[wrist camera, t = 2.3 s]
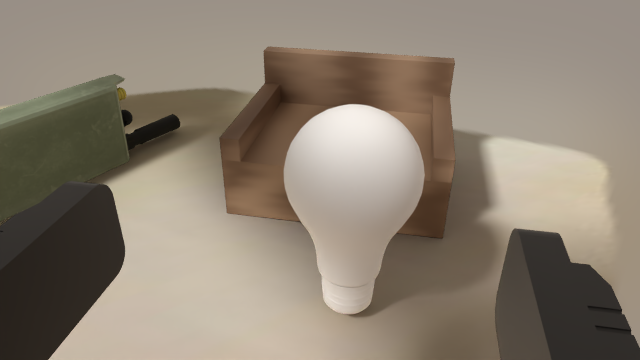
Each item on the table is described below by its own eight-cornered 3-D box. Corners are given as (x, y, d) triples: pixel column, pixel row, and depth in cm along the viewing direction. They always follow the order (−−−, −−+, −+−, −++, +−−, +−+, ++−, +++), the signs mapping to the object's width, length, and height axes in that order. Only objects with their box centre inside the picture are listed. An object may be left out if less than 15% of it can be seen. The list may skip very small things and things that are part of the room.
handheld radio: (-194, 286, 28) (164, 128, 46) (-170, 313, 26) (190, 139, 44) (-263, 183, 24) (154, 56, 42) (-240, 207, 23) (182, 65, 41)
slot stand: (227, 213, 34) (215, 99, 30) (272, 140, 43) (267, 46, 39) (442, 238, 31) (462, 119, 27) (439, 155, 41) (454, 58, 37)
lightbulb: (425, 341, 24) (459, 134, 19) (301, 365, 23) (298, 150, 18) (382, 261, 30) (399, 79, 24) (278, 277, 28) (270, 89, 23)
